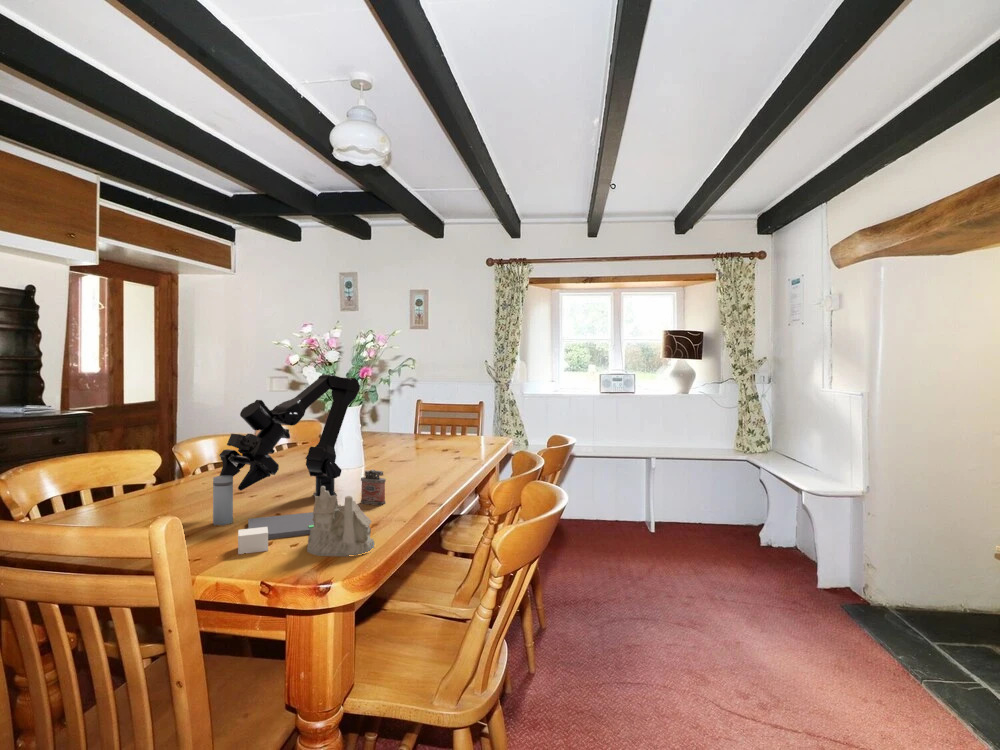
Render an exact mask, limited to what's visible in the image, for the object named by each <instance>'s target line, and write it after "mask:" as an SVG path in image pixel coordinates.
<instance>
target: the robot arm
mask: <svg viewBox="0 0 1000 750" xmlns="http://www.w3.org/2000/svg"><path fill="white" fill-rule="evenodd" d="M360 387H361V385H360V383H359V380H358V379H357V378H355V377H341V376H336V375H334V374H321V375H319V376H318V378H317V379H316V380H315V381H313V382H312V383H311V384H309V385H308V386H307V387H306V388H305V389H304V390H302V391H301V392H300V393H298V394H297V395H296V396H295V397H292V398H291V399H288V400H286V401H283V402H281V403H280V404H278V405H276V406H274V407H273V408H272V409H269V408H268V406H267V405H266V404H265V402H264V401H263V400H262V399H256V400H255V401H254V402H251V403H250V404H248V405H246V406H244V407H243V408H242V410H241V411H240V413H239V415H240V417H241V418H242V420H244V422H245V423H247V425H249V426H250V428H251V429H252V430H254V431H259V432H258V433H257V435H256V434H254V433H247V434H245V435H243V434H240V433H239V434H238V433H231V434H230V436H229V438H228V441H227V442H226V445H227V446H228V447H233V448H236V449H237V450H235V449H228V448H227V449H223V450H222V451H221V452H220V453H219V457H220V460H221V463H222V468H221V471H220V474H219V476H224V475H230V476H233V477H235V476H236V475H238V474H239V473H240V472H241V469H243V468H244V467H245V466H246V465H248V466H249V470H248V471H247V473H246V474H245V476H244V477H243V478H242V481H240V484H239V485H238V487H237V490H238V491H243V490H245V489H247V488H248V487H251V486H252V485H254V484H257V482H260V481H263V480H264V479H266V478H269V477H271V476H275V475H276V474H277V473H278V471H279V465H280V464H278V463H277V462H276V460H275V459H274V458H273V457H272V456H271V454H272V455H274V453H276V450H275V449H274V448H275V446H276V445H277V444H278V443H279V441H280V440H281V439H286V440H288V439H290V438H291V435H290V434H291V433H290V429H289V428H288V429H287V428H285V427H283V426H290V427H291V426H295V425H297V424H298V423H299V422H300V421H301V420H302V418H303V417H304V416H305V414H306V410H307V409H308V408H309V407H311V406H312V404H314V403H315V402H316V401H317V400H318V399H320V398H321V397H323V395H324V394H326V393H327V392H328V391H329V390H331V397H332V403H331V406H330V409H329V413H328V415H327V419H326V421H325V424H324V427H323V431H322V432H321V435H320V439H319V441H318V443H317V444H316V445H315V446H310V447H309V448H308V452H307V454H306V457H305V460H306V461H305V467H306V469H307V470H308V473H309V476H310V477H315V492H313V494H312V495H313V496H314V498H315V496H320V492H321V486H325V490H326V491H329V493H330V495H331V496H335V495H336V497H337V496H338V494H337V493H336V491H335V484H336V483H335V479H337V478H338V477H341V474H342V468H341V467H340V466H339V465H337V463H336V459H337V455H336V454H337V453H336V449H335V446H336V443H337V441H338V437H339V434H340V431H341V428H342V426H343V422H344V419H345V417H346V414H347V410H348V407H349V405H350V404H351V403H353V402H354V400H355V399H356V398H357V396H358V394H359V392H360ZM269 454H270V455H269ZM337 498H338V497H337Z"/></svg>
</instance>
